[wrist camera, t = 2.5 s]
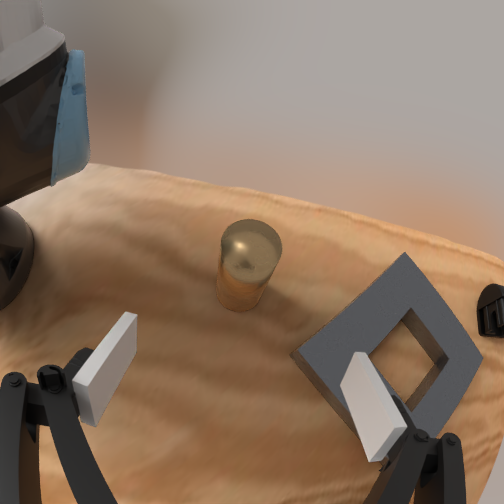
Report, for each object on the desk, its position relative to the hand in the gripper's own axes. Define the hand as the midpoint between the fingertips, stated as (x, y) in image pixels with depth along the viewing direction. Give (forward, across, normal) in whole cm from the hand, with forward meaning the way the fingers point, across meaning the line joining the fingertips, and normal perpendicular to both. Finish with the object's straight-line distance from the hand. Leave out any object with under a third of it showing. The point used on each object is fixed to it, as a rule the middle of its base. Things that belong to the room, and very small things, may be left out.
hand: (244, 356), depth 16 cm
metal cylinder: (+16, 0, -3) cm, 17 cm away
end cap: (+18, +42, -2) cm, 46 cm away
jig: (+12, +20, -7) cm, 24 cm away
